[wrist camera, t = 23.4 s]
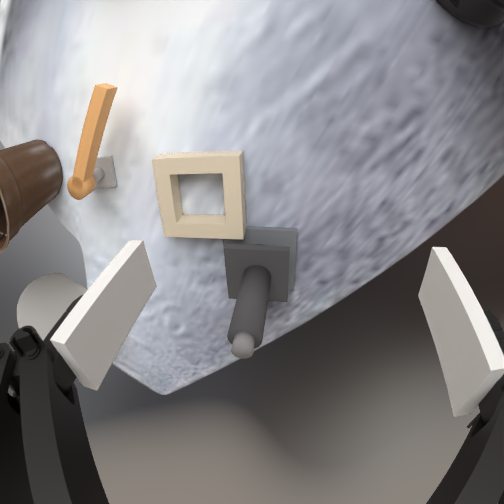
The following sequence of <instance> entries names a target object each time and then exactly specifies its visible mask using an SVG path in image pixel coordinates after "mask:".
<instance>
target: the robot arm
mask: <svg viewBox="0 0 504 504" xmlns="http://www.w3.org/2000/svg"><path fill="white" fill-rule="evenodd" d="M437 1H438V2H439V3H440V4H441V5H442V6H443V7H444V8H445V9H446V10H447V11H448V12H449V13H451V14H452V15H453V16H455V17H456V18H457V19H459V20H461V21H463V22H464V23H466V24H469V25H471V26H475V27H479V28H488V27H495V26H499V25H501V24H503V23H504V0H437ZM156 287H157V286H156V283H155V280H154V276H153V273H152V270H151V267H150V263H149V260H148V256H147V253H146V249H145V246H144V242H143V240H130V241H129V242H128V243H127V244H126V245H125V246H124V247H123V248H122V250H121V251H120V252H119V253H118V254H117V255H116V257H115V258H114V259H113V260H112V261H111V262H110V264H109V265H108V266H107V267H106V268H105V269H104V271H103V272H102V273H101V274H100V275H99V277H98V278H97V279H96V280H95V281H94V283H93V284H92V285H91V286H90V288H89V289H88V290H87V291H86V293H85V294H84V295H81V296H79V297H78V298H77V299H75V300H74V301H73V302H72V303H71V304H70V306H69V307H68V308H67V309H66V312H64V313H63V315H62V316H61V318H60V319H59V320H58V321H57V322H56V324H55V325H54V326H53V328H52V329H51V331H50V332H49V333H48V335H47V336H46V337H45V339H44V340H42V339H41V337H40V336H39V334H38V333H37V331H36V329H35V328H34V327H33V326H29V325H28V326H23V327H21V328H20V329H18V330H17V331H16V332H15V333H14V334H13V336H12V337H11V339H10V342H9V343H10V344H11V346H12V347H13V349H14V350H15V351H13V350H12V349H11V347H10V346H9V345H8V344H7V343H1V344H0V504H109V502H108V499H107V497H106V494H105V491H104V489H103V486H102V483H101V480H100V478H99V474H98V471H97V468H96V466H95V462H94V459H93V456H92V452H91V449H90V445H89V441H88V437H87V434H86V430H85V426H84V422H83V417H82V413H81V408H80V404H79V398H78V393H77V389H76V386H75V384H74V383H73V382H74V380H75V379H76V377H77V378H78V380H79V381H80V382H81V383H82V385H83V386H85V387H88V388H91V389H94V390H98V388H99V386H100V384H101V382H102V381H103V379H104V377H105V375H106V373H107V371H108V369H109V367H110V366H111V364H112V362H113V360H114V359H115V357H116V355H117V353H118V351H119V350H120V348H121V346H122V344H123V342H124V341H125V339H126V337H127V335H128V334H129V332H130V330H131V328H132V327H133V325H134V323H135V322H136V320H137V318H138V316H139V315H140V313H141V311H142V310H143V308H144V306H145V305H146V303H147V301H148V300H149V298H150V296H151V295H152V293H153V291H154V290H155V288H156ZM418 297H419V299H420V302H421V305H422V307H423V310H424V313H425V315H426V319H427V322H428V325H429V328H430V330H431V334H432V337H433V340H434V343H435V346H436V349H437V353H438V356H439V360H440V363H441V367H442V370H443V374H444V378H445V381H446V385H447V389H448V393H449V397H450V402H451V406H452V410H453V416H454V417H455V416H460V415H466V414H470V413H471V412H472V411H473V410H474V409H475V408H476V407H477V406H478V405H479V409H480V413H479V414H478V415H477V416H476V417H475V418H474V419H473V420H472V422H470V424H469V425H468V426H467V427H468V428H470V427H471V426H472V428H471V430H470V432H469V434H468V436H467V438H466V440H465V441H464V443H463V445H462V447H461V449H460V451H459V453H458V454H457V456H456V458H455V460H454V461H453V463H452V465H451V467H450V468H449V470H448V472H447V473H446V475H445V476H444V478H443V479H442V481H441V483H440V484H439V486H438V487H437V489H436V490H435V492H434V493H433V495H432V496H431V498H430V499H429V501H428V502H427V503H426V504H497V503H498V504H504V332H503V331H502V330H503V329H502V327H501V325H500V323H499V321H498V319H497V318H496V317H495V316H494V315H493V314H492V313H491V312H490V311H483V310H482V308H481V306H480V304H479V302H478V300H477V298H476V297H475V295H474V293H473V291H472V289H471V288H470V286H469V284H468V282H467V280H466V279H465V277H464V275H463V273H462V272H461V270H460V268H459V267H458V265H457V263H456V262H455V260H454V259H453V257H452V255H451V254H450V252H449V251H448V249H447V248H445V247H432V250H431V254H430V258H429V261H428V265H427V268H426V272H425V275H424V279H423V282H422V285H421V289H420V292H419V295H418ZM9 387H10V388H11V389H12V390H13V392H14V393H13V396H10V395H9V393H8V388H9Z"/></svg>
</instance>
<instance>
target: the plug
mask: <svg viewBox="0 0 504 504" xmlns="http://www.w3.org/2000/svg"><path fill="white" fill-rule="evenodd" d="M224 254H225V265H226V275H227V285H228V295H229V298H233V299H237V300H236V304H235V308H234V312H233V316H232V320H231V323H230V327H229V331H228V335H227V336H228V340H229V342H230V343H231V344H232V349H231V352H232V354H233V355H235V356H236V357H239V358H249V357H251V356H252V355H253V350H254V349H255V348H257V347H259V346H260V345H261V343H262V339H263V332H264V325H265V318H266V311H267V304H268V301H282V302H287V298H288V279H289V257H290V247H287V246H266V245H261V244H256V245H239V244H226V245H225V247H224Z"/></svg>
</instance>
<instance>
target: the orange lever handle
mask: <svg viewBox="0 0 504 504" xmlns="http://www.w3.org/2000/svg"><path fill="white" fill-rule="evenodd" d="M116 90H117V87H114V86H112V85H109V84H99V85H95V87H94V90H93V94H92V97H91V100H90V104H89V107H88V111H87V115H86V119H85V122H84V126H83V130H82V135H81V139H80V143H79V148H78V153H77V158H76V163H75V168H74V173H73V177H71V178H70V179H69V181H68V184H67V187H68V191H69V193H70V195H71V196H72V197H73V198H75V199H77V200H81V199H83V198H84V197H85V196H87V195H88V194H90V193H91V192H92V191H93V190H94V188H95V179H94V177H93V173H94V168H95V164H96V160H97V155H98V151H99V147H100V144H101V140H102V136H103V132H104V129H105V125H106V122H107V118H108V115H109V112H110V109H111V106H112V102H113V99H114V96H115V93H116Z"/></svg>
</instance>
